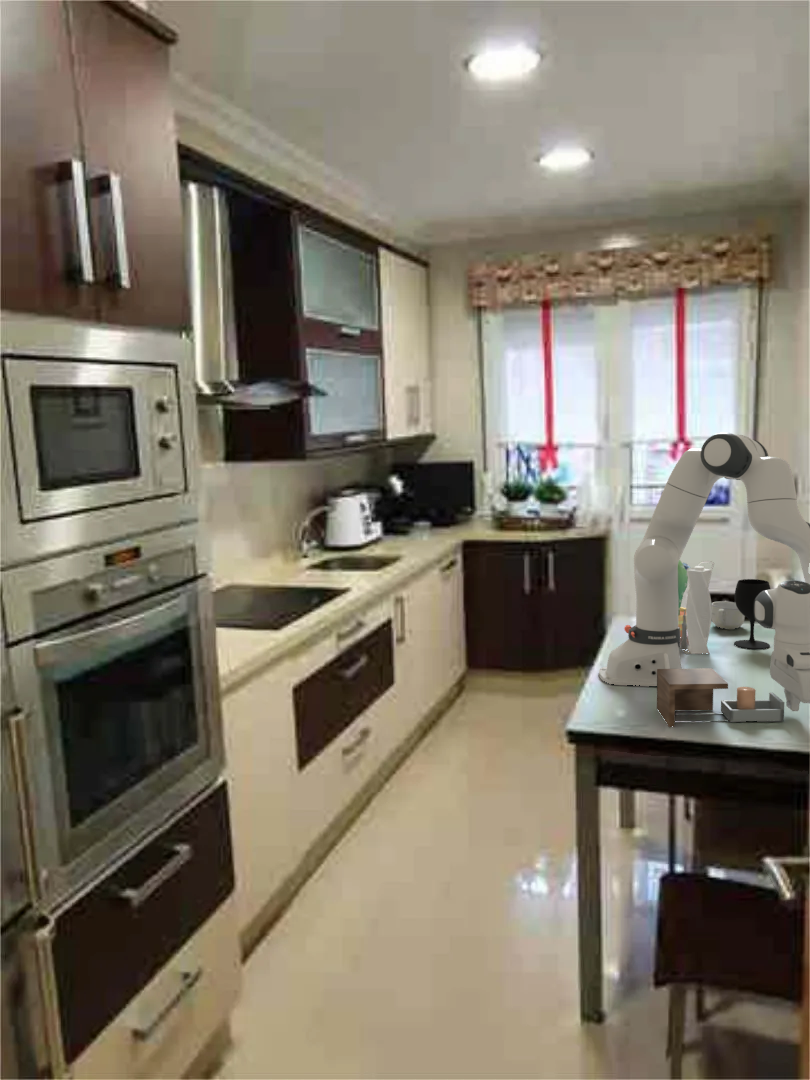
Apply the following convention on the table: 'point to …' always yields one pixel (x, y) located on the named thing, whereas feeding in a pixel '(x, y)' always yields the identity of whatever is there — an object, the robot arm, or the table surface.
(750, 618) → the wine glass
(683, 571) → the potted cactus
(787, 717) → the table surface
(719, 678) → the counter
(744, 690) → the peach cylinder
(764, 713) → the tray
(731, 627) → the teacup
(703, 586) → the skyscraper
